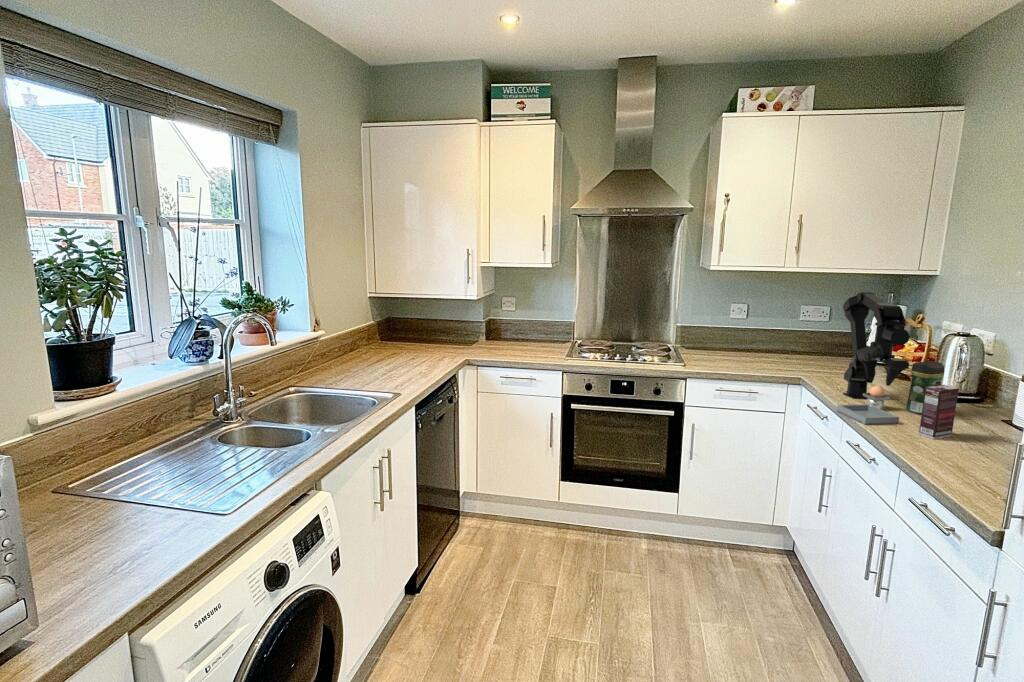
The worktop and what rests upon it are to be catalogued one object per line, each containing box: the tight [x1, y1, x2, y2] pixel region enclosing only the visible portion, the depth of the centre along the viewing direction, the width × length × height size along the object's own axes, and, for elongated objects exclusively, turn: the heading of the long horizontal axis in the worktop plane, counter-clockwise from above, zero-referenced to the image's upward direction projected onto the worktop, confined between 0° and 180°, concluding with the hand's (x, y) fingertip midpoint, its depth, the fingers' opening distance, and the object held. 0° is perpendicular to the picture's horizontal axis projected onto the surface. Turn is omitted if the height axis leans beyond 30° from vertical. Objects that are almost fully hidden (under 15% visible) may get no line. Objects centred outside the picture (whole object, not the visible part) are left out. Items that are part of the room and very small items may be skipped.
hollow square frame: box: [863, 392, 891, 411], centre depth 199 cm, size 6×6×5 cm
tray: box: [836, 403, 900, 426], centre depth 188 cm, size 14×12×2 cm
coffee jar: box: [905, 360, 945, 415], centre depth 194 cm, size 10×8×19 cm
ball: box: [869, 385, 885, 397], centre depth 198 cm, size 4×4×4 cm
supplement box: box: [918, 384, 959, 440], centre depth 170 cm, size 9×5×16 cm, turn 109°
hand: (878, 382), depth 197 cm, fingers open, 9 cm apart
